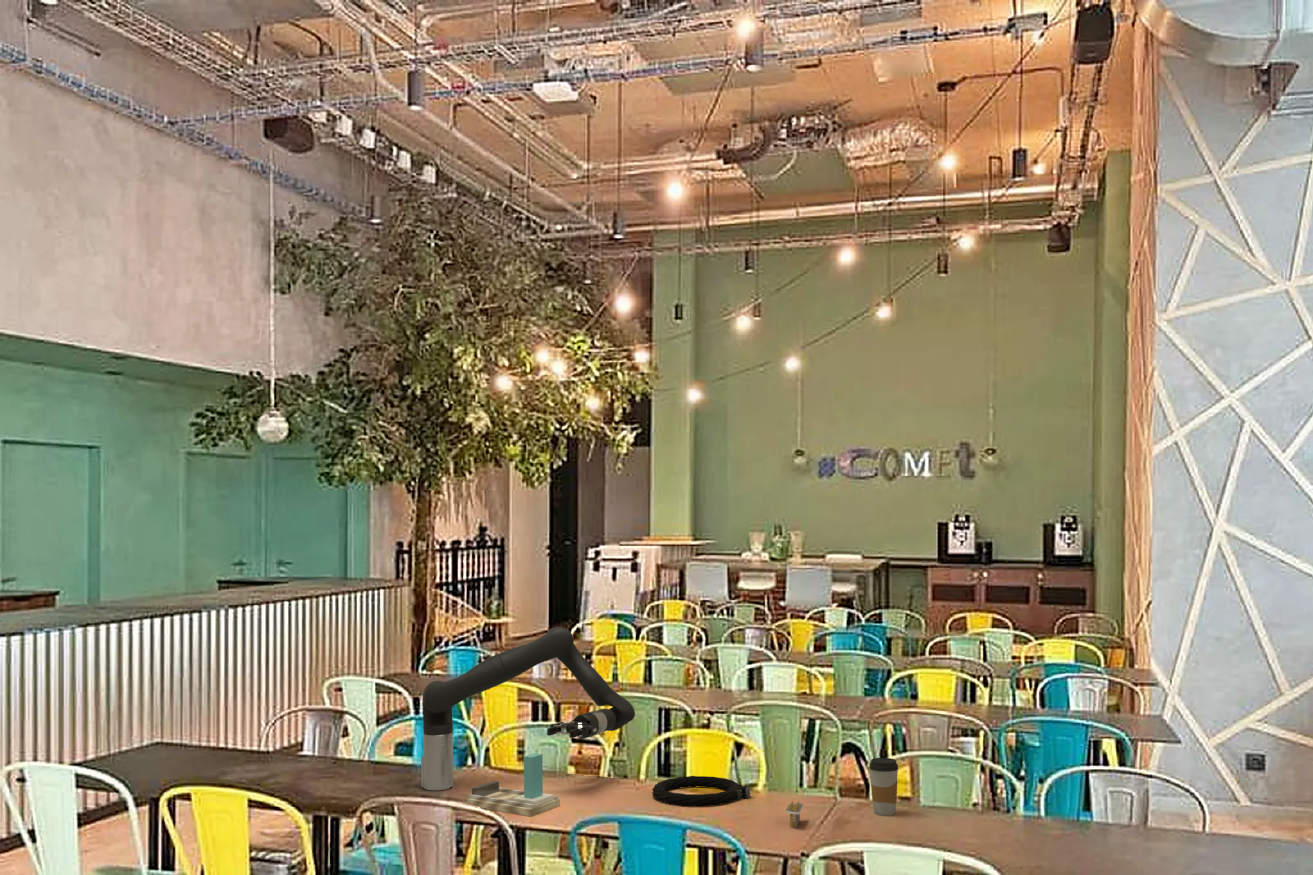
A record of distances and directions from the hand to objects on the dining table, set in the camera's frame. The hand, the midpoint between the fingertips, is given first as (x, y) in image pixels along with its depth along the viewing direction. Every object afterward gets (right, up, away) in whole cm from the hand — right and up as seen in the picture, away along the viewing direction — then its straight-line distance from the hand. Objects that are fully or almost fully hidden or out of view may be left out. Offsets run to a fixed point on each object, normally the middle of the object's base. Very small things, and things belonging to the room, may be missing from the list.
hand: (559, 733), depth 375 cm
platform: (+68, -18, -31) cm, 77 cm away
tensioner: (-7, -17, -11) cm, 22 cm away
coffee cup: (+95, -18, -21) cm, 99 cm away
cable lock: (+43, -20, +2) cm, 48 cm away
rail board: (-13, -20, -7) cm, 25 cm away
